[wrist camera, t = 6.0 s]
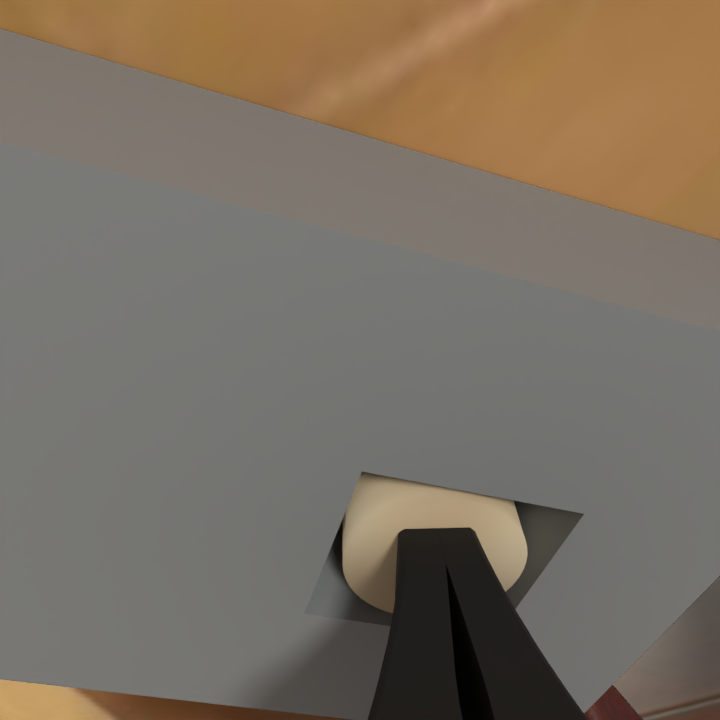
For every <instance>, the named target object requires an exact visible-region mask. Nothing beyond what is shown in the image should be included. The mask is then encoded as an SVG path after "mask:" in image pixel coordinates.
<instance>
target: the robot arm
mask: <svg viewBox="0 0 720 720" xmlns="http://www.w3.org/2000/svg"><path fill="white" fill-rule="evenodd" d="M368 720H588V718H587V717H586V716H585V714H584V713H583V711H582V710H581V709H580V707H579V706H578V705H577V703H576V702H575V700H574V699H573V698H572V696H571V695H570V693H569V692H568V691H567V689H566V688H565V686H564V685H563V683H562V682H561V680H560V679H559V677H558V676H557V674H556V673H555V671H554V670H553V669H552V667H551V666H550V664H549V663H548V661H547V660H546V658H545V656H544V655H543V653H542V652H541V650H540V649H539V647H538V646H537V644H536V643H535V641H534V639H533V638H532V636H531V634H530V633H529V631H528V629H527V628H526V626H525V624H524V623H523V621H522V620H521V618H520V616H519V615H518V613H517V611H516V610H515V608H514V606H513V604H512V603H511V601H510V599H509V598H508V596H507V594H506V592H505V590H504V588H503V587H502V585H501V583H500V581H499V579H498V577H497V576H496V574H495V572H494V570H493V568H492V566H491V564H490V562H489V560H488V558H487V556H486V554H485V552H484V550H483V548H482V546H481V543H480V541H479V539H478V537H477V534H476V532H475V531H474V530H473V529H472V528H470V527H464V528H422V529H403V530H402V531H400V532H399V533H398V544H397V564H396V583H395V603H394V609H393V615H392V620H391V626H390V632H389V637H388V642H387V646H386V650H385V655H384V659H383V663H382V667H381V671H380V675H379V679H378V683H377V687H376V691H375V695H374V698H373V702H372V706H371V709H370V713H369V716H368Z"/></svg>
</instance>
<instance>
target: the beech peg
mask: <svg viewBox="0 0 720 720" xmlns="http://www.w3.org/2000/svg"><path fill="white" fill-rule="evenodd" d="M464 527H470V528H472V529H473V530H474V531H475V532H476V534H477V537H478V539H479V541H480V543H481V546H482V548H483V550H484V552H485V554H486V556H487V558H488V560H489V562H490V564H491V566H492V568H493V570H494V572H495V574H496V576H497V577H498V579H499V581H500V583H501V585H502V587H503V588H504V590H505V592H506V591H507V590H508V589H509V588H510V587H511V586H512V585H513V584H514V583H515V582H516V581H517V579H518V578H519V577H520V575H521V573H522V572H523V570H524V567H525V564H526V561H527V555H528V554H527V544H526V540H525V537H524V533H523V530H522V527H521V524H520V520H519V517H518V514H517V511H516V507H515V504H514V501H513V500H509V499H504V498H499V497H493V496H488V495H483V494H478V493H472V492H467V491H462V490H457V489H452V488H446V487H441V486H436V485H431V484H425V483H420V482H415V481H410V480H405V479H399V478H394V477H389V476H384V475H378V474H373V473H368V472H363V471H362V472H361V475H360V477H359V479H358V482H357V484H356V487H355V489H354V492H353V494H352V497H351V499H350V502H349V504H348V507H347V509H346V512H345V514H344V517H343V519H342V550H343V573H344V576H345V579H346V581H347V583H348V585H349V586H350V588H351V589H352V590H353V591H354V593H355V594H357V595H358V596H359V597H360V598H361V599H362V600H364V601H365V602H367V603H368V604H370V605H372V606H374V607H376V608H378V609H381V610H383V611H386V612H390V613H393V609H394V603H395V583H396V564H397V544H398V533H399V532H400V531H402V530H403V529H422V528H464Z"/></svg>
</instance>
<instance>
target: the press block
mask: <svg viewBox="0 0 720 720" xmlns="http://www.w3.org/2000/svg"><path fill="white" fill-rule="evenodd" d="M362 471H363V472H368V473H373V474H378V475H384V476H389V477H394V478H399V479H405V480H410V481H415V482H420V483H425V484H431V485H436V486H441V487H446V488H452V489H457V490H462V491H467V492H472V493H478V494H483V495H488V496H493V497H499V498H504V499H509V500H513V501H514V504H515V507H516V511H517V514H518V517H519V520H520V524H521V527H522V530H523V533H524V537H525V540H526V544H527V554H528V555H527V561H526V564H525V567H524V570H523V572H522V573H521V575H520V577H519V578H518V579H517V581H516V582H515V583H514V584H513V585H512V586H511V587H510V588H509V589H508V590H507V591H506V594H507V596H508V598H509V599H510V601H511V603H512V604H513V606H514V608H515V610H516V611H517V613H518V615H519V616H520V618H521V620H522V621H523V623H524V624H525V626H526V628H527V629H528V631H529V633H530V634H531V636H532V638H533V639H534V641H535V643H536V644H537V646H538V647H539V649H540V650H541V652H542V653H543V655H544V656H545V658H546V660H547V661H548V663H549V664H550V666H551V667H552V669H553V670H554V671H555V673H556V674H557V676H558V677H559V679H560V680H561V682H562V683H563V685H564V686H565V688H566V689H567V691H568V692H569V693H570V695H571V696H572V698H573V699H574V700H575V702H576V703H577V705H578V706H579V707H580V709H581V710H582V711H583V713H585V712H586V711H587V710H588V709H589V708H590V707H591V706H592V705H593V704H594V703H595V702H596V701H597V700H598V699H599V698H600V697H601V696H602V695H603V694H604V693H605V692H606V691H607V690H608V689H609V688H610V687H611V686H612V685H613V684H614V683H615V682H616V681H617V680H618V679H619V678H620V677H621V676H622V674H623V673H624V672H625V671H626V670H627V669H628V668H629V667H630V666H631V665H632V664H633V663H634V662H635V661H636V660H637V659H638V658H639V657H640V656H641V655H642V654H643V653H644V652H645V651H646V650H647V649H648V648H649V647H650V646H651V645H652V644H653V643H654V642H655V641H656V640H657V639H658V638H659V637H660V636H661V635H662V634H663V633H664V632H665V631H666V630H667V629H668V628H669V627H670V626H671V625H672V624H673V623H674V622H675V621H676V620H677V619H678V618H679V617H680V616H681V615H682V614H683V612H684V611H685V610H686V609H687V608H688V607H689V606H690V605H691V604H692V603H693V602H694V601H695V600H696V599H697V598H698V597H699V596H700V595H701V594H702V593H703V592H704V591H705V590H706V589H707V588H708V587H709V586H710V585H711V584H712V583H713V582H714V581H715V580H716V579H717V578H718V577H719V576H720V240H717V239H713V238H710V237H707V236H703V235H700V234H696V233H693V232H690V231H686V230H683V229H679V228H676V227H673V226H669V225H666V224H662V223H659V222H656V221H652V220H649V219H645V218H642V217H639V216H635V215H632V214H628V213H625V212H622V211H618V210H615V209H611V208H608V207H605V206H601V205H598V204H594V203H591V202H588V201H584V200H581V199H577V198H574V197H571V196H567V195H564V194H560V193H557V192H554V191H550V190H547V189H543V188H540V187H537V186H533V185H530V184H526V183H523V182H520V181H516V180H513V179H509V178H506V177H503V176H499V175H496V174H492V173H489V172H486V171H482V170H479V169H475V168H472V167H469V166H465V165H462V164H458V163H455V162H452V161H448V160H445V159H441V158H438V157H435V156H431V155H428V154H424V153H421V152H418V151H414V150H411V149H407V148H404V147H401V146H397V145H394V144H390V143H387V142H384V141H380V140H377V139H373V138H370V137H367V136H363V135H360V134H356V133H353V132H350V131H346V130H343V129H339V128H336V127H333V126H329V125H326V124H322V123H319V122H316V121H312V120H309V119H305V118H302V117H299V116H295V115H292V114H288V113H285V112H282V111H278V110H275V109H271V108H268V107H265V106H261V105H258V104H254V103H251V102H248V101H244V100H241V99H237V98H234V97H231V96H227V95H224V94H220V93H217V92H214V91H210V90H207V89H203V88H200V87H197V86H193V85H190V84H186V83H183V82H180V81H176V80H173V79H169V78H166V77H163V76H159V75H156V74H152V73H149V72H146V71H142V70H139V69H135V68H132V67H129V66H125V65H122V64H118V63H115V62H112V61H108V60H105V59H101V58H98V57H95V56H91V55H88V54H84V53H81V52H78V51H74V50H71V49H67V48H64V47H61V46H57V45H54V44H50V43H47V42H44V41H40V40H37V39H33V38H30V37H27V36H23V35H20V34H16V33H13V32H10V31H6V30H3V29H0V679H2V680H11V681H20V682H28V683H37V684H46V685H54V686H63V687H72V688H81V689H89V690H98V691H107V692H115V693H124V694H133V695H141V696H150V697H159V698H167V699H176V700H185V701H194V702H202V703H211V704H220V705H228V706H237V707H246V708H254V709H263V710H272V711H280V712H289V713H298V714H307V715H315V716H324V717H333V718H341V719H350V720H368V716H369V713H370V709H371V706H372V702H373V698H374V695H375V691H376V687H377V683H378V679H379V675H380V671H381V667H382V663H383V659H384V655H385V650H386V646H387V642H388V637H389V632H390V626H391V620H392V615H393V613H390V612H386V611H383V610H381V609H378V608H376V607H374V606H372V605H370V604H368V603H367V602H365V601H364V600H362V599H361V598H360V597H359V596H358V595H357V594H355V593H354V591H353V590H352V589H351V588H350V586H349V585H348V583H347V581H346V579H345V576H344V573H343V550H342V519H343V517H344V514H345V512H346V509H347V507H348V504H349V502H350V499H351V497H352V494H353V492H354V489H355V487H356V484H357V482H358V479H359V477H360V475H361V472H362Z"/></svg>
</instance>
